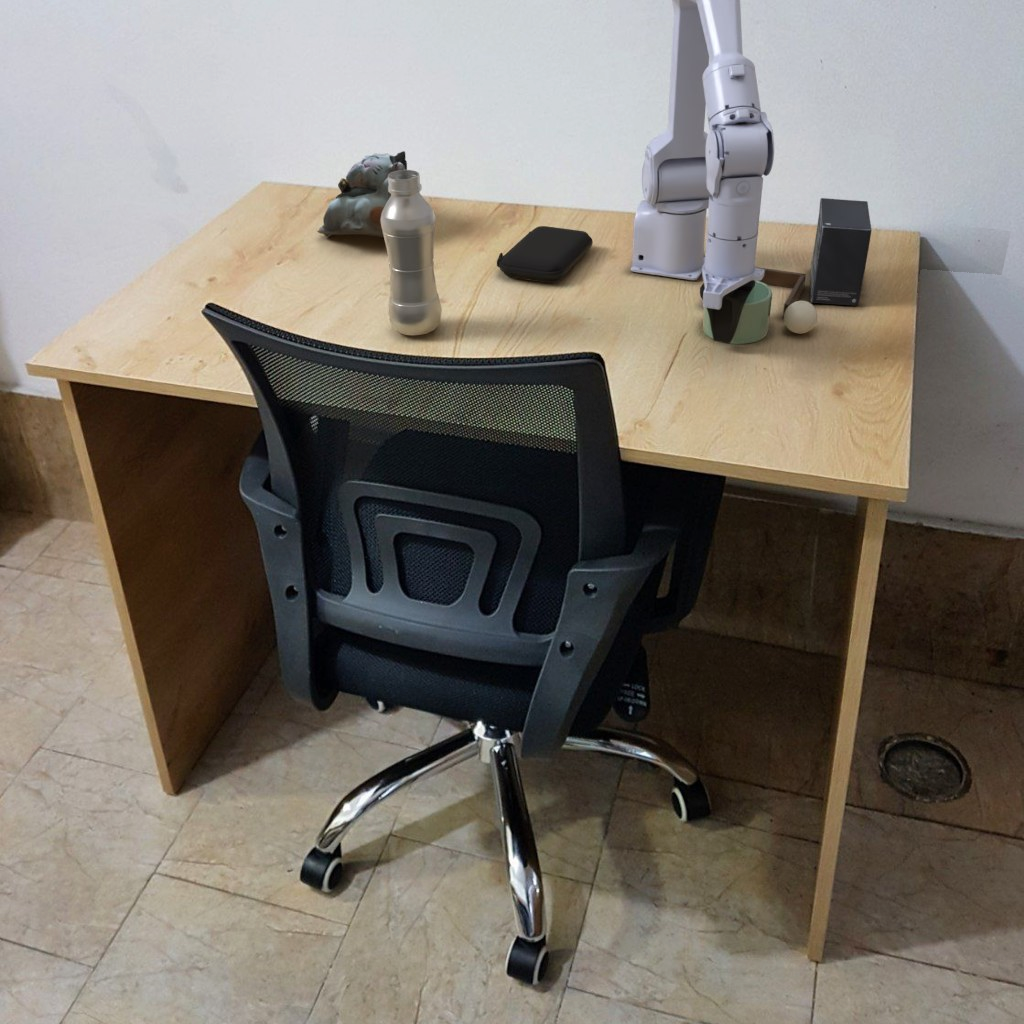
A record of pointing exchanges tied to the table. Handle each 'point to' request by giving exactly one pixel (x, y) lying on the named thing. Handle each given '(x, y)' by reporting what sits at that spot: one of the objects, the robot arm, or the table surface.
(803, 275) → the bar
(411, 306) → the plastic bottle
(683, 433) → the table surface
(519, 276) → the carrying case
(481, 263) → the table surface
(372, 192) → the lucky cat figurine
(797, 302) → the off-white sphere
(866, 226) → the small box
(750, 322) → the waste bin
